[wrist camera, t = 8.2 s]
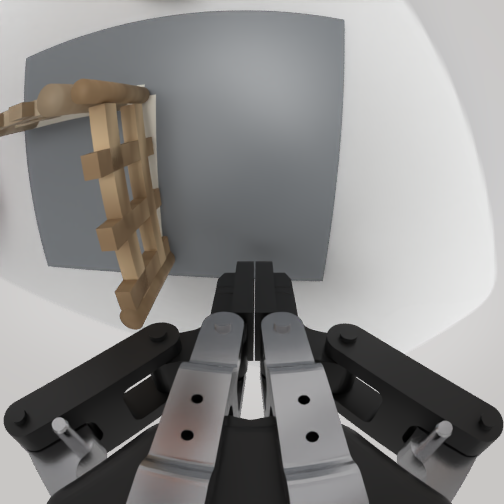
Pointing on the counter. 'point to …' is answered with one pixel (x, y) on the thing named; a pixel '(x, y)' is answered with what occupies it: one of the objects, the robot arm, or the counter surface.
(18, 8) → the counter surface
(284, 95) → the card
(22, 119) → the fixed fence
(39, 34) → the counter surface
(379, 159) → the counter surface
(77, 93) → the fence panel
